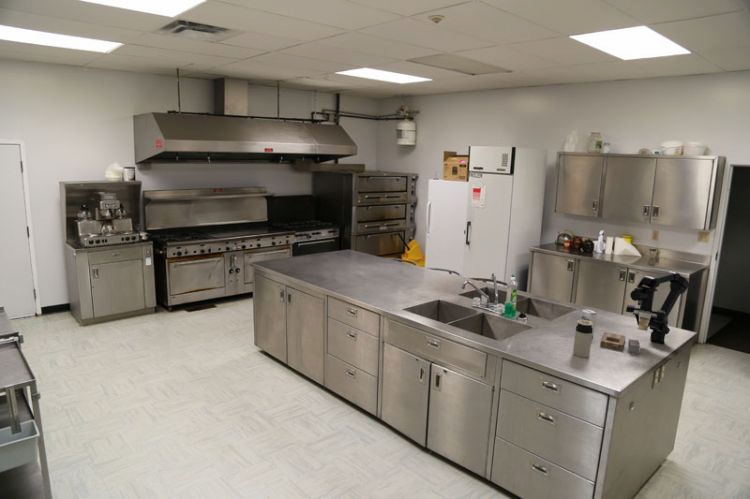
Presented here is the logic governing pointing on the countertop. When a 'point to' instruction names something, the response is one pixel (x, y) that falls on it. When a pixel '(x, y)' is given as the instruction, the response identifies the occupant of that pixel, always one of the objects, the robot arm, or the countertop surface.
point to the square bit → (643, 323)
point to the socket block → (612, 341)
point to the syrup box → (589, 317)
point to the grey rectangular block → (633, 346)
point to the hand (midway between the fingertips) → (643, 326)
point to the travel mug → (583, 338)
